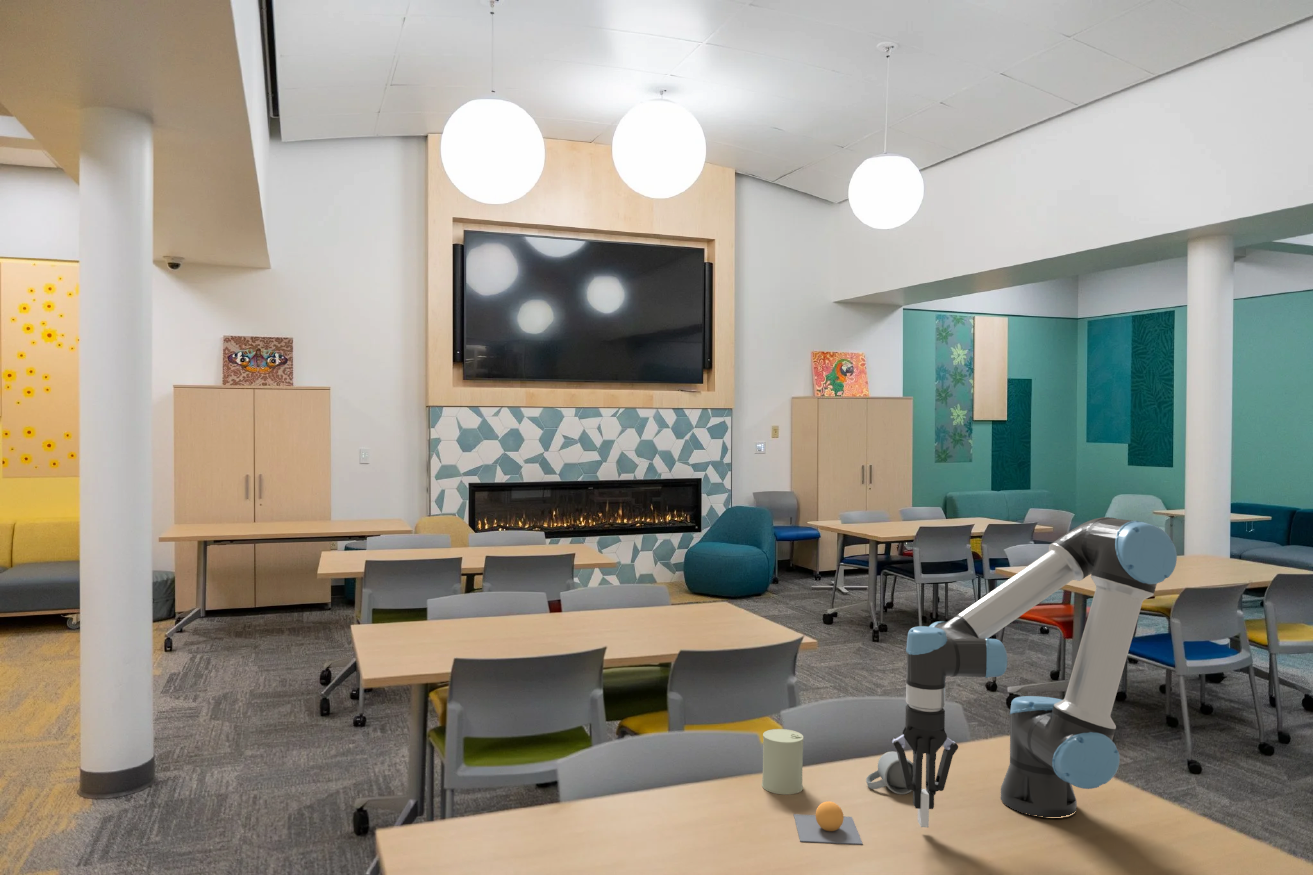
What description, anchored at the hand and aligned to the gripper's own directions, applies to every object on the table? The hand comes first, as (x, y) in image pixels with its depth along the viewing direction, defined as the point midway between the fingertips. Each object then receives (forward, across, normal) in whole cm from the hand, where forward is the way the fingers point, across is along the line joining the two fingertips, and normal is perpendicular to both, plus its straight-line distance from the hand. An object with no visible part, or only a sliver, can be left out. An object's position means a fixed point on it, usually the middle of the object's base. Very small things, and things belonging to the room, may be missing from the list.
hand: (923, 824), depth 171 cm
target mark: (+2, +19, 0) cm, 19 cm away
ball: (-1, +19, 0) cm, 19 cm away
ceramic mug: (+2, +1, -23) cm, 23 cm away
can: (+2, +26, -21) cm, 33 cm away
